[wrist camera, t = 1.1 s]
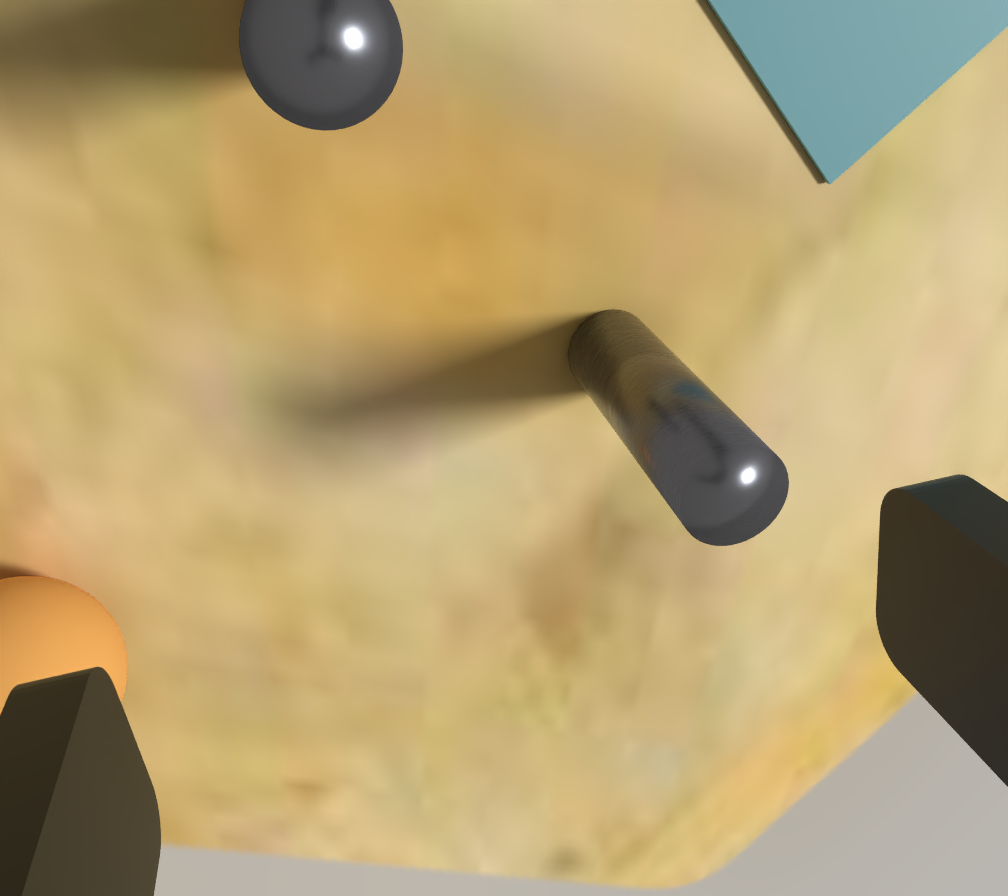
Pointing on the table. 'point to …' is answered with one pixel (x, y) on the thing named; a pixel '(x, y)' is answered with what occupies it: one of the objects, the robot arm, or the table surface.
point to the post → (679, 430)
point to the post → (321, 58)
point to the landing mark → (855, 62)
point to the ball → (55, 633)
